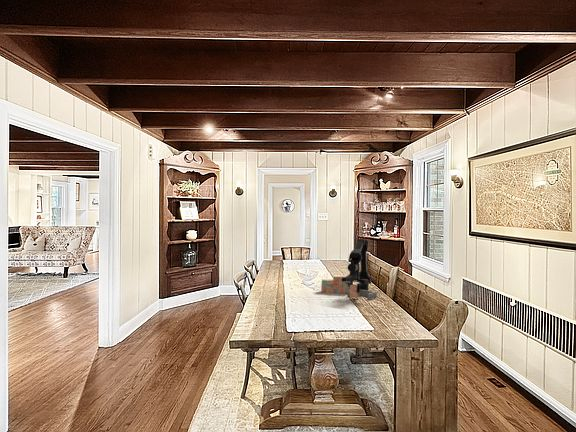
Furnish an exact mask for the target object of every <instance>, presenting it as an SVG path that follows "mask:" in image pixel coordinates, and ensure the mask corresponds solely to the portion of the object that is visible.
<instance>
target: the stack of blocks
mask: <svg viewBox="0 0 576 432" xmlns="http://www.w3.org/2000/svg"><path fill="white" fill-rule="evenodd" d="M347 276H348V275H338V274H337V275H336V274H335V275H333V278H331V279H330V278H321V293H327V294H328V293H330V294H348V291H349V290H350V289H349V286H348V284H347V283H345V282H346V281H345V282H343V281H341V279H342V277H347Z"/></svg>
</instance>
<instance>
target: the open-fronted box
mask: <svg viewBox="0 0 576 432" xmlns="http://www.w3.org/2000/svg"><path fill="white" fill-rule="evenodd" d="M349 295H350V290H349V291H348V293H347V297H349ZM377 295H378V292H377V291H372V290H369V291H367V290H361V289H360V296H361V297H367V300H368V301H371V300H374V299H377V297H378V296H377Z"/></svg>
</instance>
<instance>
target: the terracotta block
mask: <svg viewBox="0 0 576 432" xmlns="http://www.w3.org/2000/svg"><path fill="white" fill-rule="evenodd" d="M360 296H361V295H360V291H359V293H358V294H357V284H355V283H353V284H352V285H350V295H349V297H350V298H355V299H356V298H360Z"/></svg>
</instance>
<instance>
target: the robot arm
mask: <svg viewBox="0 0 576 432" xmlns="http://www.w3.org/2000/svg"><path fill="white" fill-rule="evenodd" d="M369 247H370V241H369V240H367V239H364V238H357V239H356V243H355V247H354V249H352V250H351V252H350V253H349V255H348V261H347V262H348V263H349V264H348V265H347V270H348V272H349V274H348V275H346V276H347V277H342V279H341V281H343V282H345V281H346V282H345V283H347V284H348V286H349V289H350V285H352V284H354V283H356V285H357V294H358V293H359V291H360V290H367V291H370V290H369V286H370V284H372V278H371V276H370V272H369V271H368V257H367V256H368V253H367V252H368V250H369Z"/></svg>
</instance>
